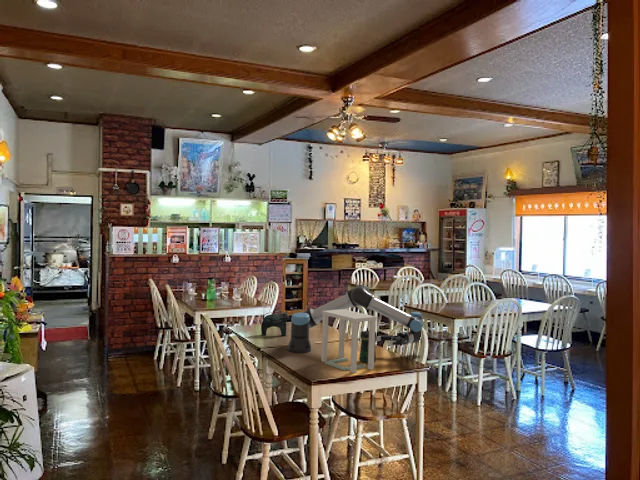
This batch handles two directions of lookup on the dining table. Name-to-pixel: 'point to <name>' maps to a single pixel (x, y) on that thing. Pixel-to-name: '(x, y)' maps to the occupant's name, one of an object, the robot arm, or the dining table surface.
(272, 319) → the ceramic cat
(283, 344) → the dining table surface
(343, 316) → the cream stool
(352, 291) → the robot arm
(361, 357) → the dark green bottle
